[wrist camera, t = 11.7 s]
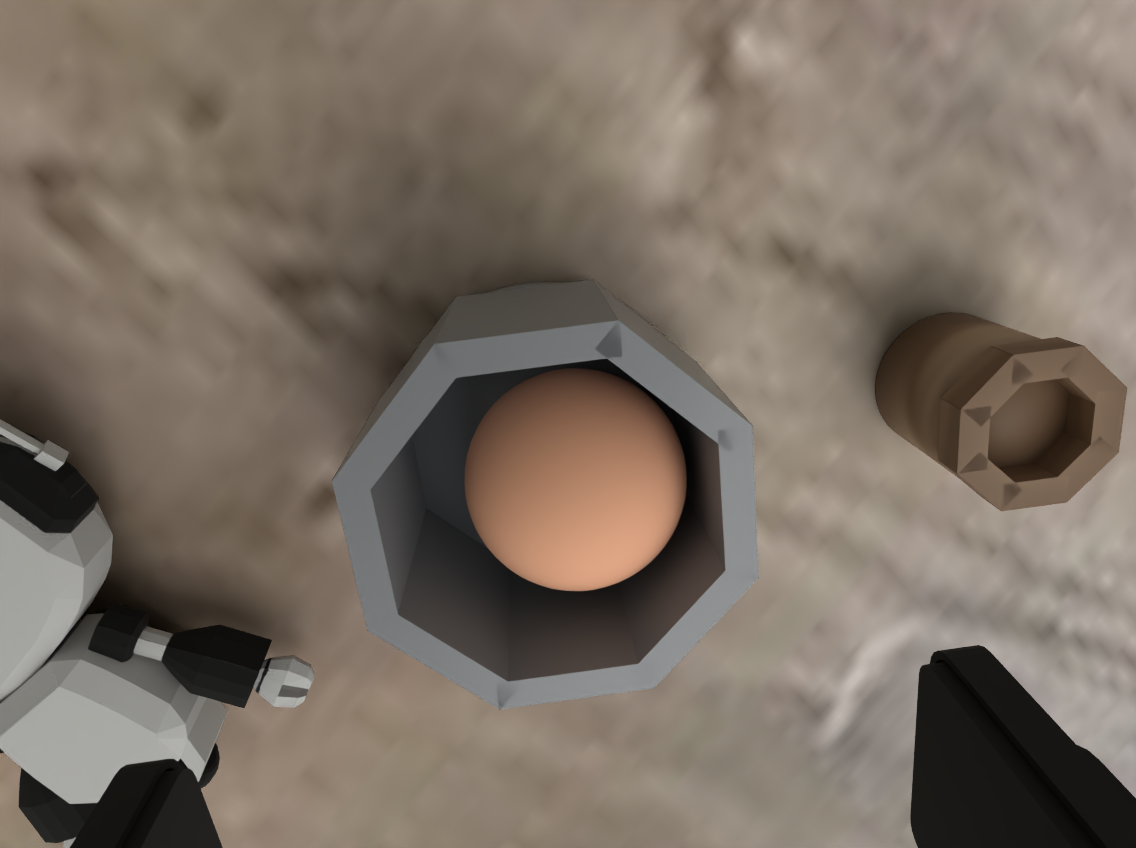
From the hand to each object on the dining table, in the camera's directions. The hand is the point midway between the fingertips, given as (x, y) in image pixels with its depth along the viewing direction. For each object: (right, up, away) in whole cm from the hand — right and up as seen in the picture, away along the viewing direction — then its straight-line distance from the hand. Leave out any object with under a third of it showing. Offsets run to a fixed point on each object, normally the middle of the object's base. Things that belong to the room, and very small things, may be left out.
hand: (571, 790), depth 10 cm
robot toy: (-17, -1, +16) cm, 24 cm away
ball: (0, +3, +11) cm, 11 cm away
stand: (+12, +6, +15) cm, 20 cm away
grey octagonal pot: (-1, +5, +15) cm, 15 cm away
